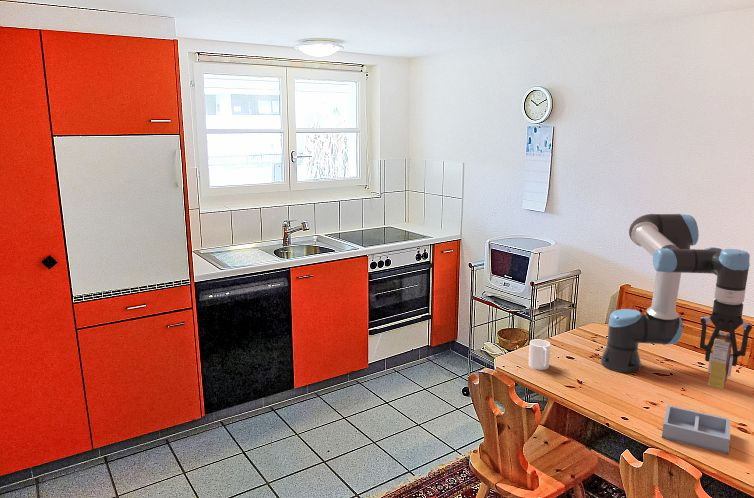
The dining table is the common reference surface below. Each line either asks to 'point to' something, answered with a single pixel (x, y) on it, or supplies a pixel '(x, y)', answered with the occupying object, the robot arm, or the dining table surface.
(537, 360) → the cup
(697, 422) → the bin
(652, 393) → the dining table surface
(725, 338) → the candy box
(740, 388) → the dining table surface
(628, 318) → the robot arm
